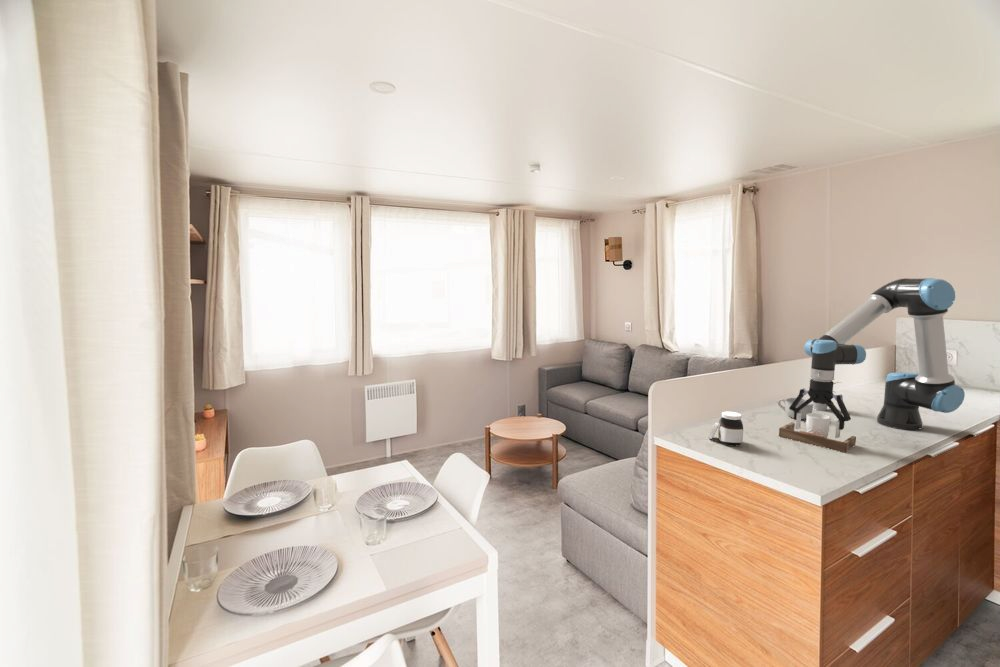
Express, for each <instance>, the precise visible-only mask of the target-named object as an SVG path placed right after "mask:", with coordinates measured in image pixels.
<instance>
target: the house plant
mask: <svg viewBox="0 0 1000 667" xmlns="http://www.w3.org/2000/svg"><path fill="white" fill-rule="evenodd" d="M838 383H841V384H842V382H841V381H840V382H837V381H836V382H833V385H835V384H838ZM833 393H834V394H837V393H836V391H834V390H833ZM812 402H813V401H812ZM813 408H814V409H813V410H815V409H816V411H819V410H823V411H822V412H825V411H824V410H826V411H827V409H828V406H827V405H826V404H820V403H814V402H813Z"/></svg>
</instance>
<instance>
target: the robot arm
mask: <svg viewBox="0 0 1000 667" xmlns="http://www.w3.org/2000/svg"><path fill="white" fill-rule="evenodd" d="M866 299H867V300H866V301H865V302H863V303H862V304H861V305H860V306H858V307H857V308H856V309H855V310H853V311H852V312H851V313H850V314H848V315H847V316H845V318H844V319H841V321H839V322H838V323H837V324H836V325H834V326H833V327H832V328H831V329H829V330H828V331H827V332H826V333H824V334H823V335H822V336H820V337H819V338H818V339H816V338H813V339H811V338H810V339H809V340H807V341H806V343H805V344H804V349H803V350H804V352H805V354H806V355H807V356H809V357H811V367H810V380H809V389H806V388H801V389H800V390H799V394H798V395H797V396H796V397H795V398H796V399H795V401H794V402H793V403H792V405H791V406H790V408H789V409H790V410H793V411H794V418H793V420H795V421H796V422H795V430H799V429H800V428H801V424H802V420H801V414H802V412H799V411H800V410H801V409H803V408H804V407H805V406H807V405H808V404H809V403H811V402H814V403H820V404H826V405H827V408H829V410H831V412H832V413H833V414H834V416H835V417H836V419H837V420H836V426H835V437H834V438H836V439H838V438H840V437H841V432H842V431H843V430H845V422H849V421H851V419H852V418H851V415H850V413H849V411H848V408H847V407H846V405H845V402H844V400H843V399H844V398H843V397H844V396H843V395H842V394H834V392H833V391H834V384H833V383H834V380H835V369H836V365H857V364H862V363H864V362H865V360H866V358H867V351H866V349H865V347H863V346H862V345H860V344H853V343H852V344H846V343H848V342H849V341H850V340H851V339H853V337H855V336H856V335H857V334H859V333H860V332H861V331H862V330H864V329H865V328H866V327H868V326H869V325H870V324H871V323H873V322H874V321H875V320H877V319H878V318H879V317H880V316H882V315H883V314H887V313H890V312H891V311H893V310H895V309H897V308H907V315H908V316H910V317H911V318H913V324H914V334H915V343H916V351H917V352H916V353H917V362H918V370H919V372H890V373H888V374H887V375H886V379H885V385H884V399H883V406H882V407H881V409H880V411H879V412H878V415H877V418H876V421H877V422H876V423H878V424H880V425H882V424H883V426H885V425H886V426H885V427H889V426H890V428H893V427H895V428H894V429H899V428H901V430H906V429H919V428H922V429H923V424H924V423H923V420H922V417H921V413H920V410H919V409H920V408H923V409H927V410H930V411H933V412H939V413H944V414H948V413H952V412H954V411H956V410H958V409H959V408H960V407H961V405H962V404H963V402H964V400H965V396H966V395H965V391H964V389H963V388H962V386H959V385H957V384H956V382H955V377H954V376H953V375H952V374H950V373H949V366H948V365H949V364H948V354H947V353H948V352H947V346H946V345H947V344H946V334H945V323H944V315H946V314H947V313H948V312H949V308H951V307H952V306H953V304H954V302H955V300H956V291H955V288H954V286H953V285H952V284H951V283H950V282H948V281H947V280H944V279H940V278H926V277H925V278H899V279H896V280H892V281H890V282H888V283H886V284H884V285H882V286H881V287H879V288H878V289H876V290H874V291H873V292H872V293H871V294H870V295H868V297H867V298H866ZM806 395H808V396H809V398H808V399H806V400H807V401H805V402H804V403H803V404H801V405H800V406H799V407H797V408H795V407H796V406H797V404H798V403H799V402H800V400H801V399H804V396H806ZM833 399H834V400H835V401H836V403H837V405H838V408H839V409H840V411H839V409H838V408H837V406H836V405H835V404H834V402H833Z"/></svg>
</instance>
